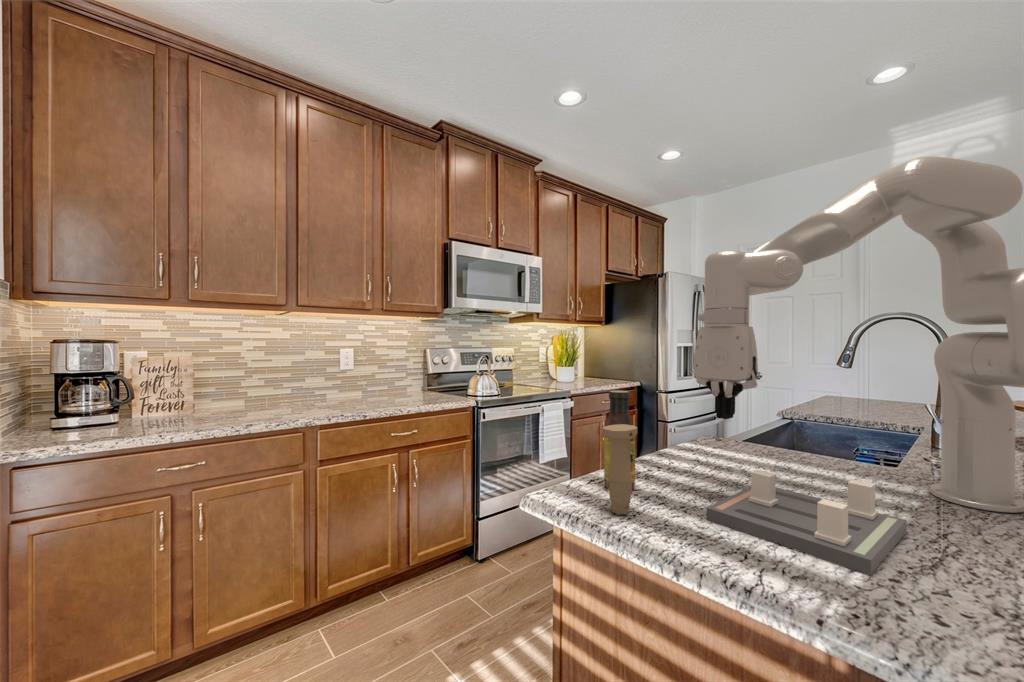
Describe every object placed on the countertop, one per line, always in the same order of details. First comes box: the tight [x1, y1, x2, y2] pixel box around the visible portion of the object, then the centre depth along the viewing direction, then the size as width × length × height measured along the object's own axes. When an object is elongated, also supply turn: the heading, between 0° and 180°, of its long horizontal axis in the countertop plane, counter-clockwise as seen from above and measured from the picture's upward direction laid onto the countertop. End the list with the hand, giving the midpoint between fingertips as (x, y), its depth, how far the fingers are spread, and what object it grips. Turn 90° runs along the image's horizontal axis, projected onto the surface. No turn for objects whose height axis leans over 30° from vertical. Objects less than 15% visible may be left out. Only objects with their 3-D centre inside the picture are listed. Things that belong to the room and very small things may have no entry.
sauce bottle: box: [603, 389, 636, 491], centre depth 89 cm, size 7×6×20 cm
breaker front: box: [814, 498, 851, 547], centre depth 62 cm, size 3×4×5 cm
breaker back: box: [847, 479, 879, 520], centre depth 70 cm, size 3×4×5 cm
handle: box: [602, 424, 638, 516], centre depth 77 cm, size 5×6×15 cm
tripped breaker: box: [749, 469, 778, 507], centre depth 76 cm, size 3×4×5 cm
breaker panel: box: [705, 486, 908, 576], centre depth 71 cm, size 20×22×2 cm
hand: (724, 417), depth 81 cm, fingers closed
